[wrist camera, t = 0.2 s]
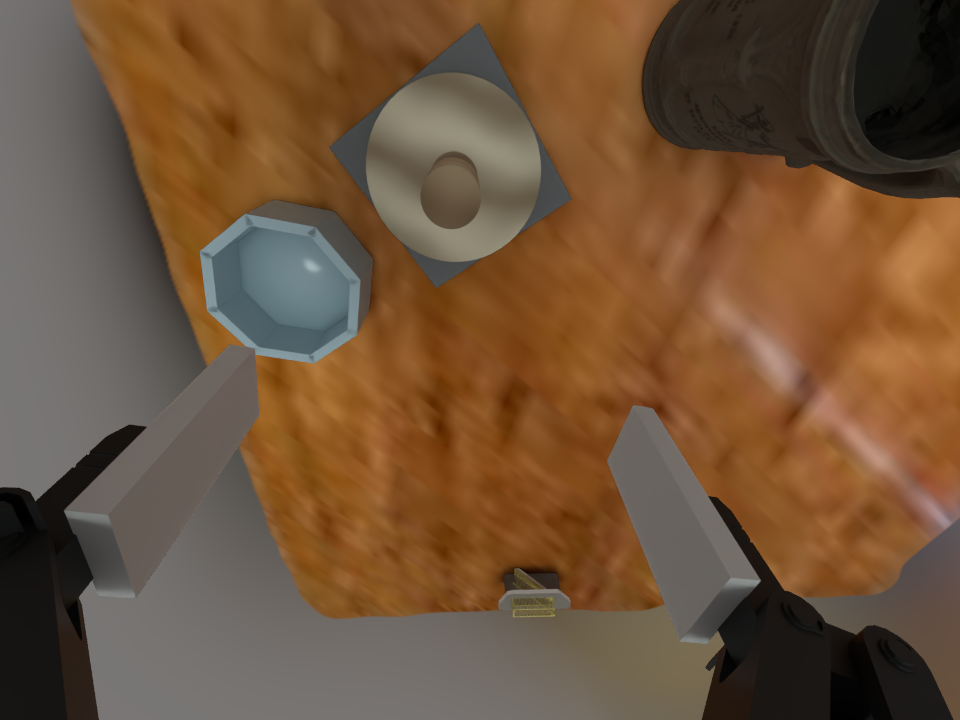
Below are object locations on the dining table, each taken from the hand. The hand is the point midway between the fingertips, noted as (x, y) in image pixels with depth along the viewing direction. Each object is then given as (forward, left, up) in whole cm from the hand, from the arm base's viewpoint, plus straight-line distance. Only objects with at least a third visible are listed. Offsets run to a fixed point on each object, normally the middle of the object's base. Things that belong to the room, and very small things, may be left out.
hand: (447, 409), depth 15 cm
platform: (+47, +19, -27) cm, 57 cm away
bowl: (+7, -13, -26) cm, 30 cm away
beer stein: (-14, +19, -26) cm, 35 cm away
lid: (-4, -1, -25) cm, 26 cm away
